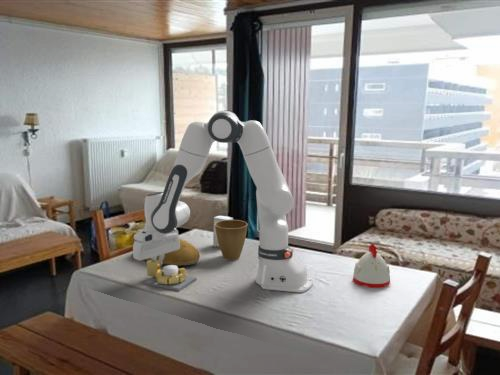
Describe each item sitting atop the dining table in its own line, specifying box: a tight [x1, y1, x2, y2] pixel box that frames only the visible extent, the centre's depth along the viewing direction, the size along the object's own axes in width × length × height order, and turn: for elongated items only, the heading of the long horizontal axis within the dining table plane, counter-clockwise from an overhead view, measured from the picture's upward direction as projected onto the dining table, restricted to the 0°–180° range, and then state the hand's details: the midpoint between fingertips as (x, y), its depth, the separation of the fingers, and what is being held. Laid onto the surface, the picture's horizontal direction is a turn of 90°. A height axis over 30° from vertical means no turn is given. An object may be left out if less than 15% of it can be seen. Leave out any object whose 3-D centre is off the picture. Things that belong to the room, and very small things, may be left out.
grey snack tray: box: [144, 264, 198, 292], centre depth 165 cm, size 16×12×6 cm
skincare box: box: [212, 215, 234, 248], centre depth 211 cm, size 8×6×15 cm
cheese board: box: [146, 260, 187, 285], centre depth 166 cm, size 16×11×6 cm
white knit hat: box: [352, 243, 391, 289], centre depth 165 cm, size 14×14×15 cm
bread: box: [143, 238, 201, 267], centre depth 193 cm, size 18×35×10 cm, turn 58°
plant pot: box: [215, 219, 248, 261], centre depth 193 cm, size 15×15×16 cm
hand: (158, 265), depth 171 cm, fingers closed
